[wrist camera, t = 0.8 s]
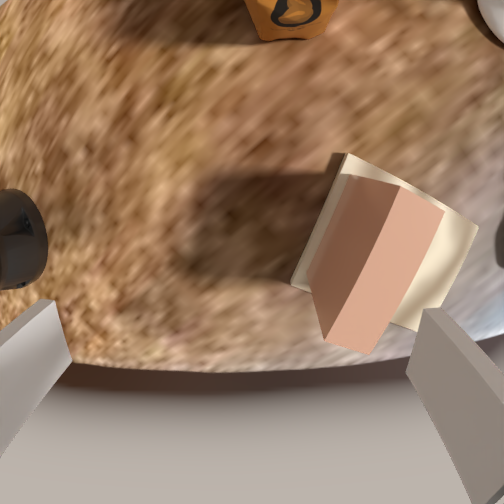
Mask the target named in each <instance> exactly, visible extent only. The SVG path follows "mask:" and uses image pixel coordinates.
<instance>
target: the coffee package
mask: <svg viewBox="0 0 504 504" xmlns="http://www.w3.org/2000/svg"><path fill="white" fill-rule="evenodd" d="M244 1H245V3H246V6H247V9H248V11H249V13H250V16H251V18H252V21H253V23H254V25H255V28H256V30H257V33H258V35H259V37H260V39H261V40H265V41H273V40H275V39H279V38H282V39H283V38H303V39H306V40H307V39H311V38H313V37H315V36H317V35H319V34H321V33H323V32H325V29H326V27H327V24H328V23H329V20H330V17H331V15H332V14H333V12H334V11H335V9H336V8H337V6H338V2H339V0H244Z"/></svg>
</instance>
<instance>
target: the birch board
mask: <svg viewBox="0 0 504 504" xmlns="http://www.w3.org/2000/svg"><path fill="white" fill-rule="evenodd" d="M350 174H353V175H357V176H362V177H366V178H370V179H375V180H379V181H383V182H387V183H391V184H395V185H399V186H402V187H403V188H405V189H407V190H409V191H411V192H413V193H414V194H416V195H418V196H420V197H421V198H423V199H425V200H427V201H428V202H430V203H432V204H434V205H435V206H437V207H439V208H440V209H442V210H444V211H445V213H444V215H443V218H442V220H441V222H440V225H439V227H438V229H437V231H436V234H435V236H434V238H433V240H432V242H431V245H430V247H429V249H428V251H427V253H426V255H425V257H424V259H423V261H422V263H421V265H420V267H419V269H418V271H417V273H416V275H415V277H414V279H413V281H412V283H411V285H410V287H409V288H408V290H407V292H406V294H405V296H404V298H403V299H402V301H401V303H400V305H399V307H398V308H397V310H396V312H395V314H394V315H393V317H392V319H391V320H390V322H391V323H394V324H397V325H400V326H402V327H405V328H408V329H411V330H414V331H416V332H418V328H419V324H420V320H421V316H422V312H423V309H424V308H439V307H440V306H441V304H442V302H443V300H444V298H445V297H446V295H447V293H448V291H449V289H450V287H451V285H452V284H453V282H454V280H455V278H456V276H457V274H458V272H459V270H460V268H461V266H462V264H463V262H464V259H465V257H466V255H467V253H468V251H469V249H470V247H471V244H472V242H473V240H474V238H475V235H476V233H477V231H478V228H479V227H478V226H477V225H475V224H474V223H472V222H471V221H469V220H468V219H466V218H465V217H463V216H462V215H460V214H458V213H457V212H455V211H454V210H452V209H450V208H449V207H447V206H446V205H444V204H442V203H441V202H439V201H437V200H436V199H434V198H432V197H431V196H429V195H427V194H426V193H424V192H422V191H420V190H419V189H417V188H415V187H413V186H411V185H410V184H408V183H406V182H404V181H402V180H401V179H399V178H397V177H395V176H393V175H391V174H389V173H387V172H386V171H384V170H382V169H380V168H378V167H376V166H374V165H372V164H370V163H368V162H366V161H364V160H362V159H360V158H358V157H356V156H353V155H351V154H349V153H345V155H344V158H343V160H342V163H341V165H340V168H339V170H338V172H337V175H336V177H335V180H334V182H333V184H332V187H331V189H330V192H329V194H328V196H327V199H326V201H325V203H324V206H323V208H322V210H321V213H320V215H319V217H318V219H317V222H316V224H315V226H314V229H313V231H312V233H311V235H310V238H309V240H308V242H307V244H306V247H305V249H304V251H303V253H302V256H301V258H300V260H299V262H298V264H297V267H296V269H295V271H294V273H293V275H292V277H291V280H290V283H291V286H294V287H297V288H299V289H302V290H305V291H307V292H310V293H311V289H310V286H309V282H308V278H307V275H306V272H307V270H308V268H309V266H310V264H311V261H312V259H313V257H314V255H315V253H316V251H317V248H318V246H319V244H320V242H321V240H322V237H323V235H324V233H325V231H326V228H327V226H328V224H329V222H330V219H331V217H332V215H333V213H334V210H335V208H336V206H337V203H338V201H339V199H340V196H341V194H342V192H343V189H344V187H345V185H346V182H347V180H348V177H349V175H350Z"/></svg>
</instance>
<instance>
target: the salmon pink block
mask: <svg viewBox="0 0 504 504" xmlns="http://www.w3.org/2000/svg"><path fill="white" fill-rule="evenodd" d="M444 213H445V211H444V210H442V209H440V208H439V207H437V206H435V205H434V204H432V203H430V202H428V201H427V200H425V199H423V198H421V197H420V196H418V195H416V194H414V193H413V192H411V191H409V190H407V189H405V188H403V187H402V186H399V185H395V184H391V183H387V182H383V181H379V180H375V179H370V178H366V177H362V176H357V175H353V174H350V175H349V177H348V180H347V182H346V185H345V187H344V189H343V192H342V194H341V196H340V199H339V201H338V203H337V206H336V208H335V210H334V213H333V215H332V217H331V219H330V222H329V224H328V226H327V228H326V231H325V233H324V235H323V237H322V240H321V242H320V244H319V246H318V248H317V251H316V253H315V255H314V257H313V259H312V261H311V264H310V266H309V268H308V270H307V272H306V275H307V278H308V282H309V286H310V289H311V293H312V297H313V300H314V304H315V308H316V311H317V315H318V319H319V323H320V327H321V330H322V334H323V338H324V341H326V342H330V343H333V344H336V345H339V346H342V347H345V348H348V349H351V350H355V351H358V352H361V353H364V354H368V355H369V354H370V353H371V351H372V350H373V348H374V346H375V345H376V343H377V342H378V340H379V339H380V337H381V335H382V334H383V332H384V330H385V329H386V327H387V325H388V324H389V322H390V320H391V319H392V317H393V315H394V314H395V312H396V310H397V308H398V307H399V305H400V303H401V301H402V299H403V298H404V296H405V294H406V292H407V290H408V288H409V287H410V285H411V283H412V281H413V279H414V277H415V275H416V273H417V271H418V269H419V267H420V265H421V263H422V261H423V259H424V257H425V255H426V253H427V251H428V249H429V247H430V245H431V242H432V240H433V238H434V236H435V234H436V231H437V229H438V227H439V225H440V222H441V220H442V218H443V215H444Z"/></svg>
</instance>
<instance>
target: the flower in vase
mask: <svg viewBox="0 0 504 504" xmlns="http://www.w3.org/2000/svg"><path fill="white" fill-rule="evenodd" d="M477 2H478V7H479V10H480V12H481V14H482V17H483V18H484V20H485V22H486V24H487V25H488V27H489V28H490V29H491V31H492V32H493V33H494V34H495V35H496V36H497V38H498V39H499V40H500V41H502V42H503V43H504V0H477Z"/></svg>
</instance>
